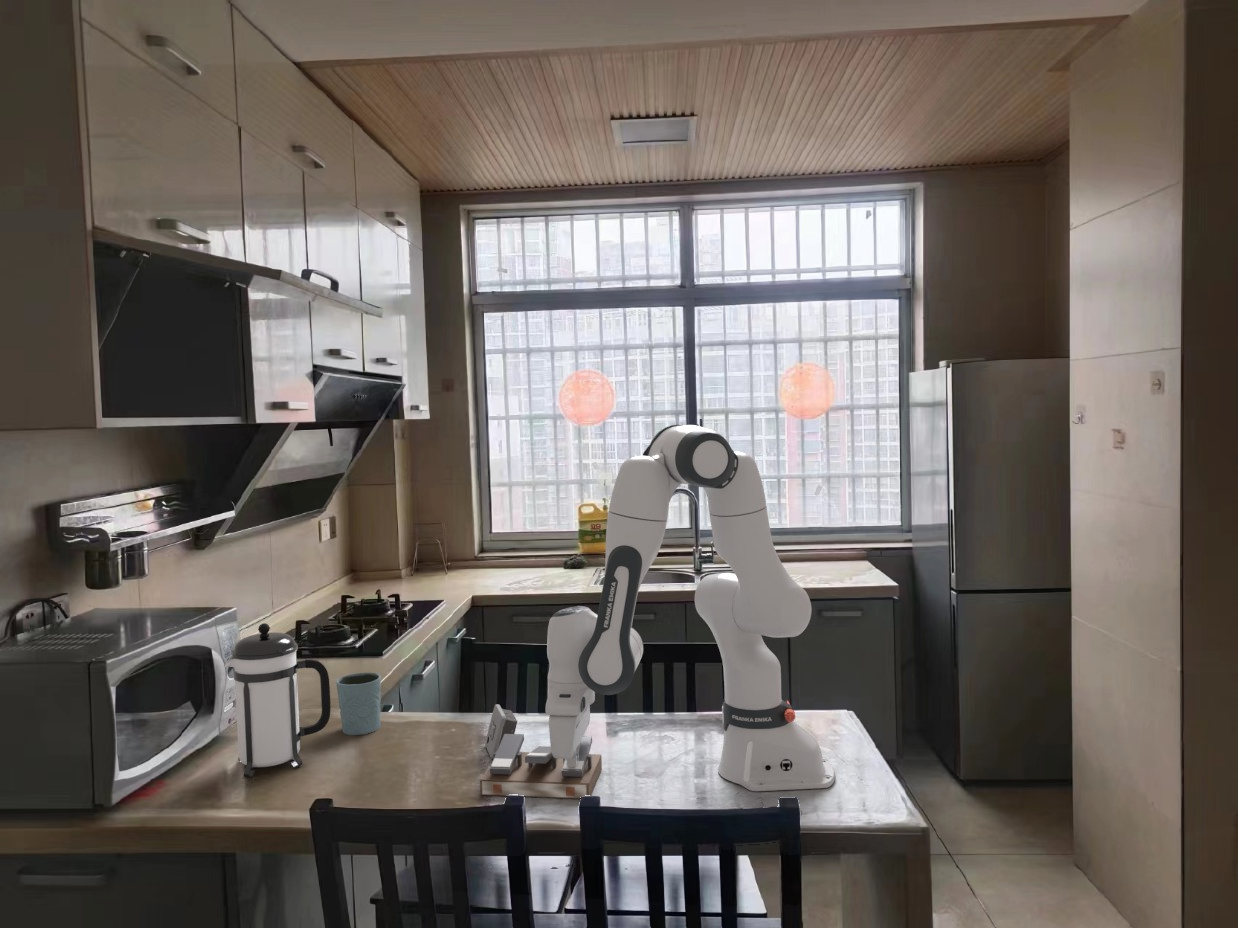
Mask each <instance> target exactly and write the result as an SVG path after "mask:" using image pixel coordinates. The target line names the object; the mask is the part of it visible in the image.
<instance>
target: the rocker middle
mask: <svg viewBox="0 0 1238 928" xmlns="http://www.w3.org/2000/svg"><path fill="white" fill-rule="evenodd" d="M529 752H530V751H529ZM550 759H552V752H551V745H550V746H549V745H547V746H546V745H545V746H543V745H538V746H537V747H536V748H535V749H532V750H531V752H530V753H529V754H528V755H526V756H525V763H545V764H546V763H547V762H548V761H549V760H550Z"/></svg>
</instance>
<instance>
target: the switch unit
mask: <svg viewBox="0 0 1238 928" xmlns="http://www.w3.org/2000/svg"><path fill="white" fill-rule="evenodd" d="M496 753H497V752H495V753H494V754H493V755H494V757H495V755H496ZM529 753H530V751H529V752H528V751H527V752H525V751H520V752H519V753H518V754H517V759H516V762H515V764H514V767H513V770H512V772H511V774H490V766H491V764H490V765H489V766H488V768H487V769H486V770H485V772H484V773H483V774H482V775H481V777H480V779H479V790H480V791H479V794H480V796H491V797H492V796H493V797H494V796H496V797H499V796H500V797H507V796H506V795H509V794H518V795H524V796H526V797H525V798H545V797H546V799H547V798H549V799H551V798H553V799H572V798H573V800H574V799H578V800H580V797H582V796H585V795H591V796H592V794H593V791H594V789H595V786H596V784H597V783H598V779H599V776H600V774H601V771H602V770H603V768H602V766H603V765H602V764H603V763H602V762H603V761H602V760H603V759H602V754H598V753H597V754H596V753H593V754H592V753H589V755H588V757H587V758H588V759H587V763H586V766H585V770H584V774H583V777H575V776H562V772H561V770H562V767H563V764H564V761H565V759H559V758H554V757H553V755H552V759H550V760H549V761H548V762H547V763H546V764H545V763H525V756H526V755H528V754H529Z"/></svg>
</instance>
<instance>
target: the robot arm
mask: <svg viewBox="0 0 1238 928" xmlns="http://www.w3.org/2000/svg"><path fill="white" fill-rule="evenodd" d="M619 467H620V468H619V470H618V473H617V476H616V479H615V482H614V486H613V489H612V493H611V496H610V501H609V507H608V513H607V521H606V530H605V531H606V532H605V557H604V558H605V561H604V565H605V566H604V579H603V585H602V589H601V595H600V601H599V606H598V612H597V613H595V612H594V611H592V609H591V608H589V607H587V606H584V605H577V606H575V605H574V606H569V607H565V608H563V609H560V610H558V611H556V612H555V613H554V614H553V615H552V616H551V617H550V619H549V622H548V626H547V637H546V638H547V639H546V641H547V642H546V646H547V647H546V654H547V656H546V657H547V659H548V663H549V664H548V665H549V669H548V674H547V698H546V703H545V714H546V716H549V717H548V730H549V731H548V732H549V742H550V747H551V752H552V755H553V757H554V758H559V759H567V766H568V767H576V765H577V762H578V761H579V747H580V741H581V739H582V737H583V736H585V732H586V731H587V728H588V727H589V725H590V721H591V710H590V708H591V706H590V705H592V704H593V703H594V702H595V701H596V699H595V697H596V695H595V694H596V693H597V694H600V695H605V696H613V695H618V694H620V693H621V692H624V691H625V690H626V689H627V688H628V687H629V686H630V685H631V684H632V681H633V679H634V677H635V672H636V670H637V668H638V667H639V664H640V662H641V659H642V657H643V655H644V648H645V647H644V646H645V645H644V641H643V638H642V637H641V635H640V633H639V632H638V631H637V630H636V628H634V627H633V621H634V620H633V619H634V616H635V615H634V614H635V609H636V604H637V600H638V599H637V597H638V593H639V591H640V587H641V585H642V583H643V580H644V579H645V576H646V574H647V573H648V571H649V569H650V568H651V566H652V565H653V563H654V562H655V560H656V558H657V556H658V554H659V551H660V549H661V547H662V543H663V541H664V540H663V539H664V536H665V532H666V528H667V523H668V517H669V508H670V502H671V500H672V497H673V495H674V493H675V492H676V490H677V489H678V487H680V485H690V486H691V485H692V486H694V487H699V488H703V490H704V492H705V494H706V497H707V504H708V511H709V520H710V527H711V533H712V540H713V547H714V548H713V549H714V550H715V552H716V554H717V555H718V556H719V558H721V560H722V561H724V562H725V563H726V564H727V565H728V567H730V569H731V570H732V571H733V572H720V573H712V574H708V575H706V576H704V577H703V578H702V579H701V580H700V581H699V583H698V584H697V586H696V588H695V592H694V607H695V609H696V612H697V614H698V615H699V616H700V618H702V620H703V621H704V622H705V623H706V624H707V626H708V627H709V628H710V631H711V632H712V635H713V638H714V639H715V641H716V644H717V647H718V649H719V652H720V653H719V654H720V658H721V661H722V666H723V667H722V668H723V670H722V671H723V681H724V682H723V683H724V684H723V685H724V698H723V700H722V706H721V711H722V712H721V713H722V715H721V717H722V719H721V721H722V726H723V730H724V733H723V744H722V752H721V757H720V761H719V764H718V768H717V771H718V774H719V775H720V776H721V777H722V778H723V779H725V780H727V781H729V782H732V783H735V784H737V785H740V786H742V787H743V788H746V789H747V790H749V791H751V792H766V791H767V792H768V791H770V792H771V791H789V790H790V791H791V790H809V789H811V790H812V789H813V790H814V789H828V788H829V787H831V786H832V785H833V784H834V782H835V778H836V777H835V776H836V775H835V769H834V765H833V764H832V763H831V762H830V761H829V760H828V759H827V758H826V757H824V756H823V752H822V749H821V746H820V744H819V742H818V740H817V738H816V737H815V736H814V735H813V733H811V732H810V731H808V730H806V729H805V728H804V727H802V726H801V725H800V724H799V723H797V722H796V721H795V720H796V712H795V710H793V707H792V705H791V704H790V702H789V700H786V701H785V700H783V699H782V671H781V670H782V669H781V667H782V666H781V663H780V661H779V659H778V657H777V656H776V655H775V654H774V653H773V652H772V651H771V650H770V649H769V647H767V645H766V643H765V642H764V639H763V637H762V636H765V637H770V638H794V637H797V636H800V635H801V634H802V633H803V632H804V631H805V630H806V629H807V627H808V625H809V624H810V620H811V619H812V610H813V609H812V602H811V599H810V596H809V594H808V593H807V591H806V589H804V588H803V587H801V586H800V584H798V583H797V582H796V581H795V580H794V579H793V578H792V577H791V576H790V574H789V573H788V571H787V570H786V568H785V567H784V565H783V563H782V561H781V559H780V558H779V555H778V553H777V551H776V548H775V546H774V542H773V538H772V532H771V527H770V521H769V514H768V508H767V501H766V493H765V489H764V485H763V482H762V478H761V474H760V471H759V469H758V466H757V463H756V460H755V459H754V458H753V457H752V456H750V455H749V454H747V453H745V452H741V451H735V450H733V449H732V447H731V445H730V443H729V442H728V440H727V439H726V438H725V437H724V436H723V435H722V434H720V433H719V432H718V431H716V430H714V429H711V428H706V427H703V426H699V425H695V424H685V425H683V424H672V425H668V426H666V427H664V428H662V429H660V430H659V431H658V432H657V433H656V434H655V435H654V436H653V438H652V440H651V441H650V443H649V445H648V446H647V448H646V449H645V451H643V453H642V455H636V456H632V457H629V458H627V459H626V460H624V462H622V464H621V465H620V466H619Z"/></svg>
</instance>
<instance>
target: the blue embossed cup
mask: <svg viewBox="0 0 1238 928" xmlns="http://www.w3.org/2000/svg"><path fill="white" fill-rule="evenodd" d="M335 684H336V689H337V690H336V691H337V697H338V707H339V710H340V711H339V714H340V721H341V729H342V733H343V734H345V735H347V736H361V735H362V736H364V735H367V734H368V733H369V734H371V732H372V733H375V732H376V730H377V731H378V730H379V729H380V727H381V701H382V700H381V689H382V686H381V685H382V676H381V674H379V673H376V672H357V673H351V674H347V675H346V674H345V675H344V676H341V677H338V678H337V680H336V682H335ZM374 731H375V732H374Z"/></svg>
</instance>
